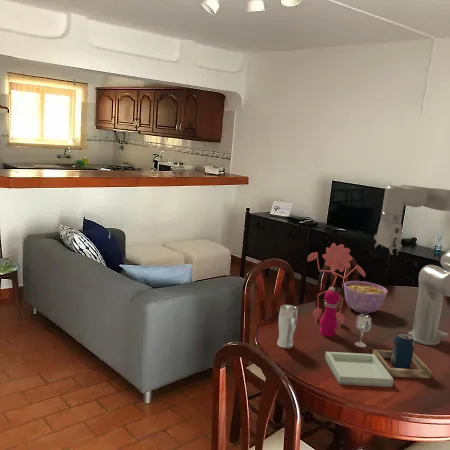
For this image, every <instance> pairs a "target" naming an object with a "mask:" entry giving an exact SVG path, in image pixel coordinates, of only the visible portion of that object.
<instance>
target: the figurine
mask: <svg viewBox="0 0 450 450" xmlns="http://www.w3.org/2000/svg"><path fill="white" fill-rule="evenodd" d="M325 252H326V253H324V254H322V258H323V260H324V265H325V266H326V267H330V268H329V270H327V269H320V264H319V257H318V256H319V253H318V252H317V251H316V252H312V253H310V254H309V255H308V256H307V257H306V258H307V262H311V261H314V260H316V261H317V262H316V263H317V269H318V271H319V272H326V273H331V274H333V275H334V276H335V278H334V281H333V282H332V285H331V286H330V287H328V289H327V290H325V291H323V292H320V293H318V294H317V308H315V309H314V310H313V311H312V316H313V317H314V319H315V321H314V323H315V324H316V323H317V321H318V317H319V316H321V314H322V315H323V314H324V313H325V312H324V313H323V312H322V309H321V308H319V306H320V305H319V299H320V298H319V296H320V295H322V294H324V293H326V292H327V291H331V288H332V287H334V286H335V285H334V284H335V283H336V280H337V278H338V277H340V278H342V279H345V278H347V277H348V276H349V275H350V274H351V273H353V272H354V271H355V270H357V272H358V273H359V274H360V275H361V276H362V277H363V278H366V272H365V271H364V269H363V268H362V267H361V266H360V265H358V264H356V266H355V267H354V268H353V269H351V270H350V272H348V273H347V274H346V275H345V276H343V275H341V274H339V273H337V272H335V271H337V270H338V271H339V272H340V273H343V272H344V271H345V269H349V268H351V263H350V262H351V261H352V260H353V256H352V255H350V252H351V249H350V248H348V247H345V245H344V244H343V243H342V244H339V245H337V244H336V243H335V242H333V243H332V244H331V245H330V247H326V248H325ZM340 299H341V303H340V308H339V312H335V315H336V319H337V323H338V324H339V323H341V324H343V325H344V324H345V322H346V318H345V316H344V314H342V313H341V311H342V307H343V301H344V299H343V297H341V296H340ZM338 324H337V326H338Z"/></svg>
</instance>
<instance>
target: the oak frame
mask: <svg viewBox="0 0 450 450" xmlns="http://www.w3.org/2000/svg"><path fill="white" fill-rule="evenodd" d="M371 354H374V355H375V356H376V357H377V359H378V360H379V361H380V362H381V364H382V365H383V366H384V368H385V369H386V370H387V371H388V373H389V374H390V375H391V377H401V378H413V379H414V378H418V379H431V378H432V372H433V371H432V370H431V369H430V368H429V367H428V366H427V365H426V364H425V363H424V362H423V361H422V360H421V359H420V358H419V357H418V356H417V355H416V354H415V352H413V356H412V362H411V363H413V365H414V366H415V367H416V368H417V369H416V368H409V369H401V368H394V367H391V366H390V365H389V364H388V363H387V362H386V360H385V359H391V356H392V350H391V349H390V350H387V349H386V350H385V349H384V350H383V349H372V353H371Z"/></svg>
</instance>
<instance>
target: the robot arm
mask: <svg viewBox="0 0 450 450" xmlns="http://www.w3.org/2000/svg"><path fill="white" fill-rule="evenodd" d="M404 206H406V207H413V208H420V207H424V208H428V209H431V210H437V211H441V212H450V189H445V188H437V187H435V188H434V187H426V186H424V187H423V186H417V185H409V184H408V185H407V184H400V185H392V184H391V185H387V186H386V187H385V190H384V196H383V204H382V209H381V215H380V221H379V223H378V227H377V232H376V233H375V234H374V236H373V238H374V240H373V243H374V252H373V258H377V259H379V258H380V259H381V258H382V255H383V250H384V248H387V249H388V250H389V253H388V258H387V265H390V266H391V265H397V264H396V263H397V257H398V255H399V253H401V249H402V248H403V244H402V243H401V241H402V230H403V229H402V227H403V226H402V218H403V211H404ZM440 265H441V266H439V265H435V264H428V265H425V266H423V267H422V268H421V270H420V271H419V273H418V294H417V301H416V306H415V312H414V317H413V318H414V319H413V324H412V330H410V331H408V332H407V333H408V334H410V335H412V336H413V337H414V342H415V343H418V344H422V345H425V346H438V345H439V344H440V343H441V339H440V338H449V335H450V334H449V333H448V332H443V331H442V330H439V325H440V320H441V315H442V308H443V302H444V297H443V296H445V297H450V249H449V250H447V251H446V252H445V253H444V254H443V255H442V256H441V259H440ZM437 344H438V345H437Z"/></svg>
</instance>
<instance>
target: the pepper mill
mask: <svg viewBox="0 0 450 450" xmlns="http://www.w3.org/2000/svg"><path fill="white" fill-rule="evenodd" d="M331 287H332V286H331ZM326 291H327V290H326ZM323 297H324V300H325V302H324V306H325V310H324V314H322V316H321V318H320V320H319V326H320V328H319V334H320V335H322V336H324V337H328V338H331V337H335V335H336V329H337V328H338V325H337V324H339V322H338V323H337V318H336V309H337V308H338V303H339V301H340V299H341V298H340V297H341V295H340V293H338V292H337V291H336V288H335V287H334V286H333V287H332V288H331V291H327V292H325V294H324V296H323Z"/></svg>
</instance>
